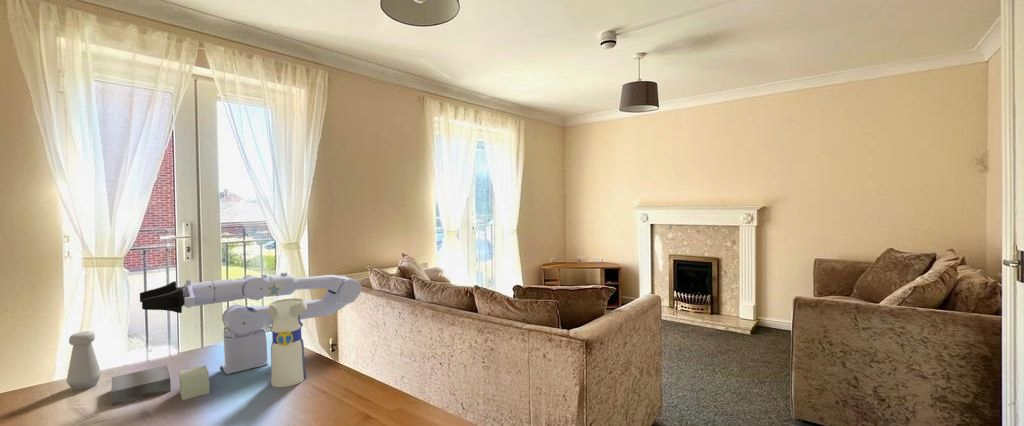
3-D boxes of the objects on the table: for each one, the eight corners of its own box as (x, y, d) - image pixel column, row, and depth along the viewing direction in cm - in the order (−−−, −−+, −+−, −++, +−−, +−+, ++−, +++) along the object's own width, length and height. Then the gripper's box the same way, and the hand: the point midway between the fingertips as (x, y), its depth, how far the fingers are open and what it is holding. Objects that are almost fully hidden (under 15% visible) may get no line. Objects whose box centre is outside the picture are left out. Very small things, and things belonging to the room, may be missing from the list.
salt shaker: (79, 393, 99) (76, 337, 98) (60, 391, 100) (56, 336, 99) (108, 382, 104) (105, 329, 104) (89, 380, 105) (86, 328, 105)
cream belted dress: (306, 384, 102) (303, 280, 101) (266, 390, 99) (262, 283, 98) (310, 370, 110) (307, 274, 109) (273, 375, 107) (269, 277, 106)
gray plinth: (167, 377, 107) (166, 365, 107) (170, 390, 100) (170, 378, 99) (112, 389, 100) (112, 377, 100) (112, 405, 93) (111, 391, 93)
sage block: (206, 386, 102) (205, 365, 102) (209, 393, 98) (208, 372, 98) (180, 392, 99) (178, 371, 98) (182, 400, 95) (181, 378, 95)
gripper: (206, 272, 113) (138, 278, 104) (217, 282, 103) (142, 290, 93) (206, 298, 114) (139, 306, 104) (217, 310, 103) (143, 321, 94)
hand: (140, 301), depth 99 cm, fingers open, 7 cm apart
